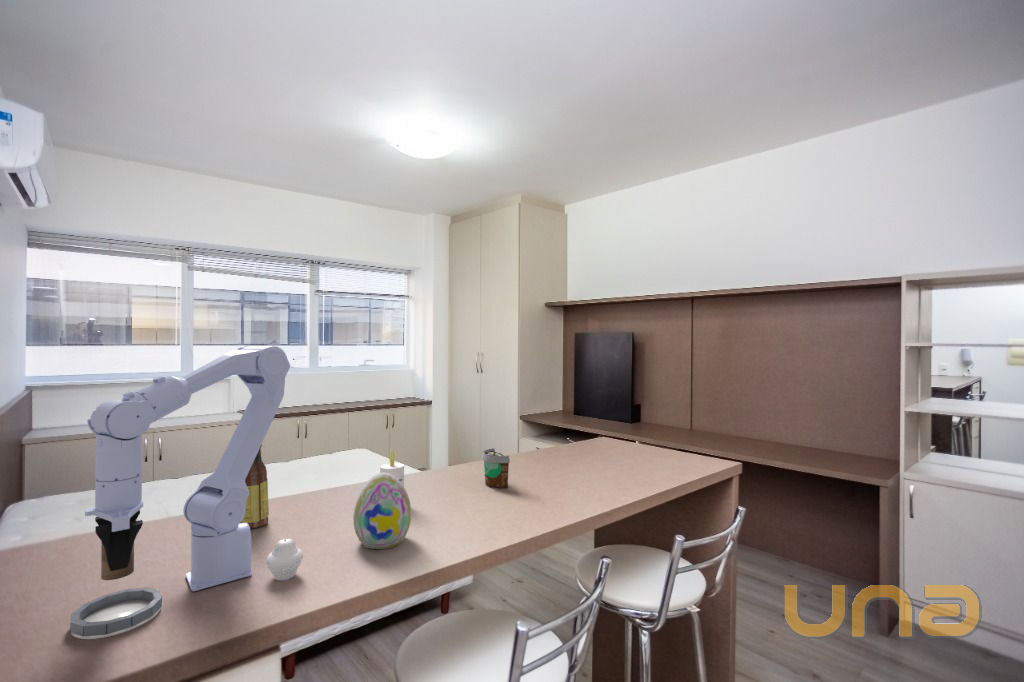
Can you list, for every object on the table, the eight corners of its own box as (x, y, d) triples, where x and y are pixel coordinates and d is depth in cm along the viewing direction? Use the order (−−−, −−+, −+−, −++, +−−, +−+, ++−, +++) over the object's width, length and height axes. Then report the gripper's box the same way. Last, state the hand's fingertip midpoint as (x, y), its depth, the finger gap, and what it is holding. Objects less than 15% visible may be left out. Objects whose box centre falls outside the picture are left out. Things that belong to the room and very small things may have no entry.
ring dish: (157, 592, 84) (157, 581, 84) (164, 620, 76) (164, 607, 76) (71, 616, 77) (71, 603, 77) (69, 649, 68) (69, 634, 68)
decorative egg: (351, 556, 99) (352, 483, 99) (354, 534, 110) (354, 468, 110) (413, 550, 102) (413, 478, 102) (409, 528, 114) (409, 464, 114)
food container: (475, 481, 153) (475, 449, 153) (493, 479, 156) (493, 447, 156) (490, 492, 142) (490, 457, 142) (509, 489, 145) (509, 455, 145)
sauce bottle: (261, 518, 120) (262, 438, 120) (273, 524, 116) (273, 441, 116) (233, 526, 115) (233, 442, 115) (244, 532, 111) (244, 445, 111)
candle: (390, 510, 126) (390, 452, 126) (374, 505, 130) (375, 449, 130) (409, 504, 131) (409, 448, 131) (393, 499, 135) (394, 445, 135)
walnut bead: (133, 565, 79) (133, 528, 79) (134, 574, 76) (135, 536, 76) (101, 573, 76) (101, 534, 76) (101, 582, 73) (101, 542, 73)
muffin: (308, 568, 93) (308, 532, 93) (294, 584, 87) (295, 545, 87) (275, 569, 93) (275, 532, 93) (259, 585, 87) (260, 545, 87)
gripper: (85, 472, 79) (85, 555, 79) (84, 492, 68) (83, 589, 68) (140, 465, 84) (139, 543, 84) (147, 483, 73) (146, 574, 73)
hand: (118, 563), depth 76 cm, fingers closed on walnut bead, 4 cm apart
